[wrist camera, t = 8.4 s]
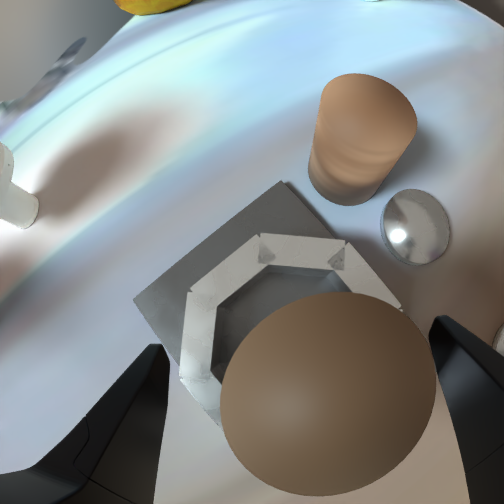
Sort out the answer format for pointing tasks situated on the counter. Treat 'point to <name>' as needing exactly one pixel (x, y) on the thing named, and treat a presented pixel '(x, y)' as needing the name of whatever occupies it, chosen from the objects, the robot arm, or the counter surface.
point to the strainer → (14, 195)
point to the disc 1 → (414, 227)
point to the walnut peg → (328, 394)
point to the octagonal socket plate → (247, 286)
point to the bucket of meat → (149, 5)
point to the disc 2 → (499, 341)
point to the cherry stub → (358, 137)
